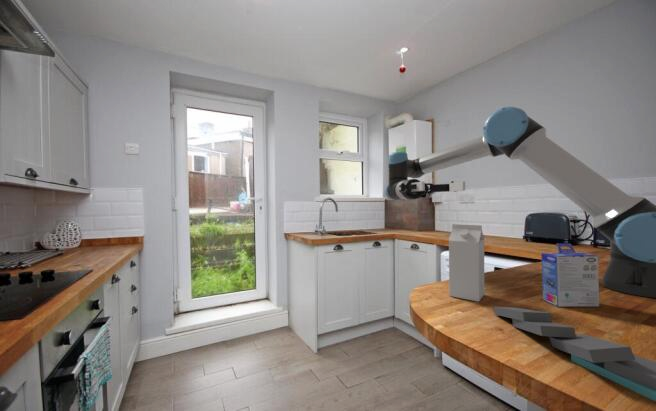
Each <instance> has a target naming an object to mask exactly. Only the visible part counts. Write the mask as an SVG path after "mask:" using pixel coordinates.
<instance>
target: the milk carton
mask: <svg viewBox="0 0 656 411" xmlns="http://www.w3.org/2000/svg"><path fill="white" fill-rule="evenodd" d="M451 227H452V228H451V232H450V234H449V239H448V290H449V292H448V295H449V296H450V297H453V298H458V299H463V300H469V301H473V302H478V303H479V302H481V299H482V298H484V295H485V238H484V233H483V229H482V228H483V226H482V225H481V224H480V225H479V224H475V225H474V224H456V223H454V224H452V226H451Z"/></svg>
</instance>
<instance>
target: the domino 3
mask: <svg viewBox="0 0 656 411" xmlns="http://www.w3.org/2000/svg"><path fill="white" fill-rule="evenodd" d="M575 334H576V333H575ZM548 337H549V341H550V343H551V346H552V348H555V349H556V350H559V351H562V352H565V353H567V354H570V355H571V354H572V355H574V356H577V357H580V358H582V359H585V360H587V361H590V362H592V363H599V362H612V361H625V360H636V359H635V357H634V355H635V354H634V352H633V350H632V348H631V346H629V345H626V344H621V343H618V342H614V341H610V340H607V339H603V338H598V337H595V336H591V335H587V334H584V333H578V334H576V338H566V337H550V336H548ZM633 354H634V355H633Z"/></svg>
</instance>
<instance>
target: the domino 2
mask: <svg viewBox="0 0 656 411" xmlns="http://www.w3.org/2000/svg"><path fill="white" fill-rule="evenodd" d="M511 321H512V327H513V328H514V327H515V328H518V329H520V330H523V331H526V332H528V333H532V334H535V335H537V336H541V337H566V338H576V329H575V327H574V326H570V325H566V324H561V323H557V322H553V321H552V322H531V321H521V320H517V319H512V318H511Z"/></svg>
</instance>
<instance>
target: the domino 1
mask: <svg viewBox="0 0 656 411" xmlns="http://www.w3.org/2000/svg"><path fill="white" fill-rule="evenodd" d="M493 313H494V315H495V316H501V317H505V318H509V319H511V320H512V319H517V320H521V321H531V322H553V321H552V320H553V319H552V313H551V312H547V311H546V312H545V311H541V310H534V309H528V308H522V307H511V306H509V307H508V306H493Z"/></svg>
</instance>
